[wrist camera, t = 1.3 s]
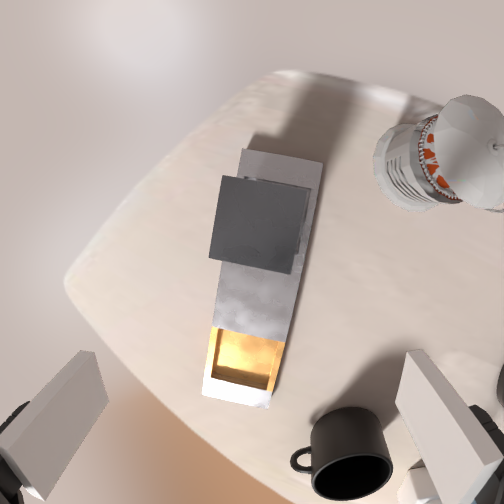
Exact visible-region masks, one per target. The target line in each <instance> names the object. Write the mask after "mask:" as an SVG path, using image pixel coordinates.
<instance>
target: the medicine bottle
mask: <svg viewBox="0 0 504 504" xmlns="http://www.w3.org/2000/svg"><path fill="white" fill-rule="evenodd" d="M397 498H398V502H399V504H442V501H441V499H440V497H439V495H438V492H437V490H436V488H435V486H434V483H433V481H432V479H431V477H430V474H429V472H428V470H427V468H426V467H422V468H416V469H410V470H408V472H407V474H406V476H405V478H404V480H403V482H402V484H401V486H400V488H399V490H398V492H397Z"/></svg>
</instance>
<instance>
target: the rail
mask: <svg viewBox="0 0 504 504" xmlns="http://www.w3.org/2000/svg"><path fill="white" fill-rule="evenodd" d="M322 168H323V163H321V162H316V161H311V160H306V159H301V158H296V157H291V156H285V155H280V154H274V153H268V152H262V151H256V150H250V149H243V148H242V152H241V157H240V163H239V168H238V174H237V178H243V179H249V180H254V181H260V182H266V183H271V184H277V185H282V186H287V187H292V188H297V189H302V190H307V196H306V201H305V206H304V212H303V217H302V222H301V227H300V232H299V237H298V242H297V247H296V252H295V256H294V261H293V266H292V271H291V275H289V274H284V273H279V272H274V271H269V270H264V269H260V268H255V267H250V266H245V265H240V264H235V263H231V262H226V261H222V265H221V271H220V278H219V284H218V290H217V296H216V303H215V309H214V316H213V322H212V329H211V335H210V342H209V349H208V356H207V363H206V370H205V377H204V384H203V391H202V394H204V395H208V396H212V397H216V398H220V399H224V400H228V401H232V402H236V403H241V404H245V405H250V406H255V407H259V408H264V409H268V406H269V402H270V399H271V395H272V392H273V388H274V384H275V380H276V377H277V373H278V369H279V365H280V361H281V358H282V354H283V350H284V346H285V342H286V338H287V334H288V330H289V325H290V321H291V317H292V313H293V309H294V304H295V300H296V296H297V291H298V287H299V283H300V278H301V274H302V269H303V264H304V260H305V255H306V250H307V246H308V241H309V236H310V231H311V226H312V221H313V216H314V211H315V206H316V200H317V195H318V190H319V184H320V179H321V173H322Z"/></svg>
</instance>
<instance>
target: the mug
mask: <svg viewBox="0 0 504 504" xmlns="http://www.w3.org/2000/svg"><path fill="white" fill-rule="evenodd" d="M306 453H308V454H311V466H308V467H304V466H301V465H299V464H298V463H297V458H298V457H299V456H301V455H303V454H306ZM290 464H291V467H292V468H293V469H294V470H295V471H297V472H300V473H308V474H311V483H312V487H313V489H314V491H315V492H316V493H317V494H318V495H319V496H321V497H323V498H326V499H329V500H335V501H348V500H355V499H359V498H362V497H365V496H368V495H370V494H372V493H374V492H376V491H377V490H379V489H380V488H382V487H383V486H384V485H385V484H386V483H387V482H388V481H389V479H390V477H391V475H392V473H393V464H392V461H391V457H390V454H389V451H388V448H387V444H386V441H385V438H384V435H383V432H382V429H381V426H380V422H379V420H378V418H377V417H376V416H375V415H374V414H373V413H372V412H370V411H368V410H366V409H363V408H358V407H347V408H341V409H338V410H335V411H332V412H330V413H328V414H326V415H325V416H323V417H322V418H321V419H320V420H319V421H318V422H317V423H316V424H315V426H314V427H313V429H312V432H311V446H308V447H306V448H302V449H299V450H297V451H296V452H295V453H294V454H293V455H292V456H291V460H290Z"/></svg>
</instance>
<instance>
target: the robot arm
mask: <svg viewBox="0 0 504 504" xmlns="http://www.w3.org/2000/svg"><path fill="white" fill-rule="evenodd" d="M497 396H498V400H499V402H500V403H501V405H502V406H503V407H504V366H503V368H502V371H501V373H500V376H499V380H498V385H497ZM108 402H109V399H108V396H107V393H106V390H105V387H104V384H103V380H102V377H101V374H100V371H99V367H98V363H97V360H96V357H95V353H94V352H88V351H82V350H80V351H79V352H78V353H77V355H76V356H74V358H73V359H71V360H70V361H69V362H68V363H67V365H66V366H65V367H64V368H63V369H62V370H61V371H60V372H59V373H58V374H57V375H56V376H55V377H54V378H53V379H52V380H51V381H50V382H49V383H48V384H47V385H46V386H45V387H44V388H43V389H42V390H41V391H40V392H39V393H38V394H37V396H35V398H34V399H33V400H32V401H31V402H30V401H28V402H26V403H24V404H23V405H21V406H19V407H18V408H17V409H16V410H15V411H14V412H13V413H12V416H9V417H8V419H7V420H6V422H4V423H3V424H2V425H1V426H0V504H24V501H23V495H22V493H21V491H20V490H19V488H20V487H21V486H22V485H23V486H24V487H25V489H26V490H27V491H28V492H29V494H31V495H33V496H35V497H37V498H39V499H41V500H43V501H45V500H46V499H47V497H48V496H49V494H50V492H51V491H52V489H53V488H54V486H55V484H56V483H57V481H58V480H59V478H60V476H61V475H62V473H63V472H64V470H65V468H66V467H67V465H68V464H69V462H70V460H71V459H72V457H73V456H74V454H75V453H76V451H77V449H78V448H79V446H80V445H81V443H82V442H83V440H84V439H85V437H86V436H87V434H88V432H89V431H90V429H91V428H92V426H93V425H94V423H95V422H96V420H97V418H98V417H99V415H100V414H101V413H102V411H103V410H104V408H105V406H106V405H107V404H108ZM395 404H396V406H397V408H398V410H399V412H400V414H401V416H402V418H403V420H404V422H405V424H406V426H407V428H408V430H409V432H410V434H411V436H412V438H413V440H414V442H415V444H416V447H417V449H418V451H419V453H420V455H421V457H422V459H423V461H424V464H425V466H426V468H427V470H428V472H429V474H430V477H431V479H432V481H433V483H434V486H435V488H436V490H437V492H438V495H439V497H440V499H441V501H442V504H504V434H503V433H502V431H501V430H500V429H498V426H497V425H496V424H495V422H493V420H492V418H491V417H490V416H489V415H488V413H487V412H486V411H485V410H483V409H482V408H480V407H478V406H477V405H472V406H469V407H468V406H467V405H466V403H465V402H464V401H463V399H462V398H461V397H460V396H459V394H458V393H457V392H456V390H455V389H454V388H453V387H452V385H451V384H450V383H449V381H448V380H447V379H446V378H445V376H444V375H443V374H442V373H441V371H440V370H439V369H438V368H437V366H436V365H435V364H434V363H433V361H432V360H431V359H430V358H429V356H428V355H427V354H426V353H425V352H424V350H423V349H421V350H414V351H407V353H406V358H405V363H404V367H403V372H402V376H401V381H400V385H399V389H398V393H397V397H396V400H395Z"/></svg>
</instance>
